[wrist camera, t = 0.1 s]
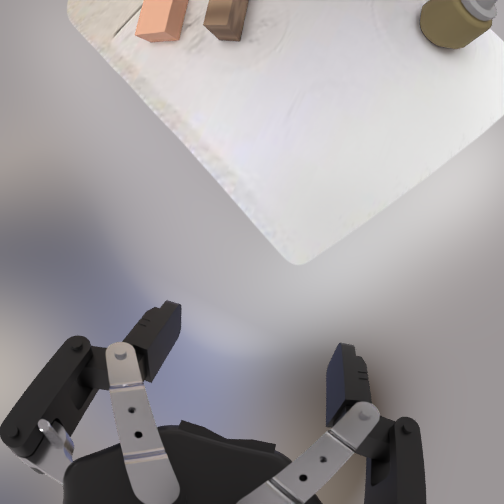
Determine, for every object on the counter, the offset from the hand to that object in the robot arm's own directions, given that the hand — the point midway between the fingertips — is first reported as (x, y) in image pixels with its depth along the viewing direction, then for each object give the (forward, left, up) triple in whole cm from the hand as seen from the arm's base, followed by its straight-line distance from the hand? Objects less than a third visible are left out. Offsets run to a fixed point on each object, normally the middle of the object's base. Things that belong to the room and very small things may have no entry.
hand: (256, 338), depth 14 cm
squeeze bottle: (-32, +17, -29) cm, 47 cm away
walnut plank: (-30, -13, -29) cm, 44 cm away
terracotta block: (-26, -23, -29) cm, 45 cm away
